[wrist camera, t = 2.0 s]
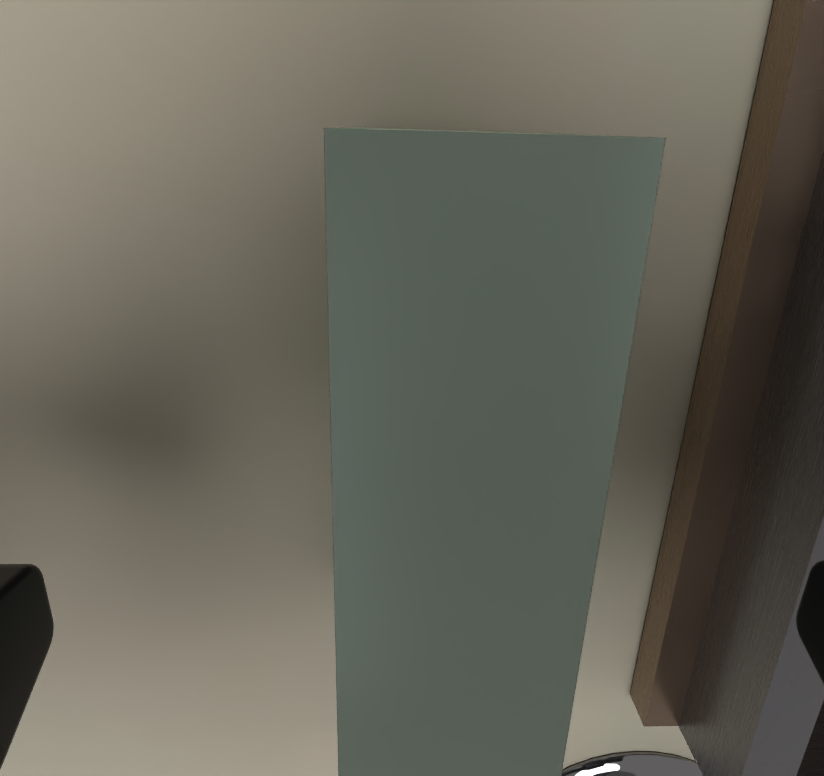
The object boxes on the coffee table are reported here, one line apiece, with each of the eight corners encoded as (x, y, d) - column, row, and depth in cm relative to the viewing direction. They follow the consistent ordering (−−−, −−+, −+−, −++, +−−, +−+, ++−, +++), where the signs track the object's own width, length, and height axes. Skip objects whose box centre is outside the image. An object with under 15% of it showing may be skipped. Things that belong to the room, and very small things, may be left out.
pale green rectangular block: (363, 571, 16) (342, 973, 8) (362, 127, 12) (323, 127, 4) (461, 571, 16) (528, 967, 8) (491, 131, 12) (665, 138, 5)
